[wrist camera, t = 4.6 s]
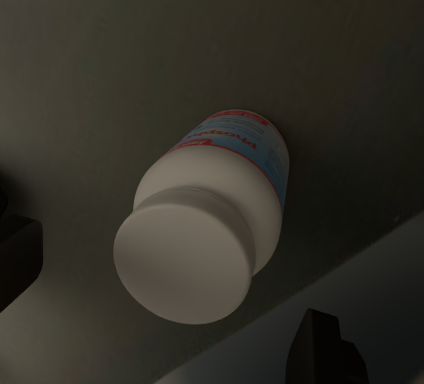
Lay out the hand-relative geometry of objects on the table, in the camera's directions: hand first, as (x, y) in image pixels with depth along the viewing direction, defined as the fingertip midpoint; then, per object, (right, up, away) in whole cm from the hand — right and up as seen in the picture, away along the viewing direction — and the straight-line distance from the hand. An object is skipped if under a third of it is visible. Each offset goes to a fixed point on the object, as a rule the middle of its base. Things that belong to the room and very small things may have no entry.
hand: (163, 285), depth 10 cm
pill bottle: (+3, +5, +11) cm, 13 cm away
